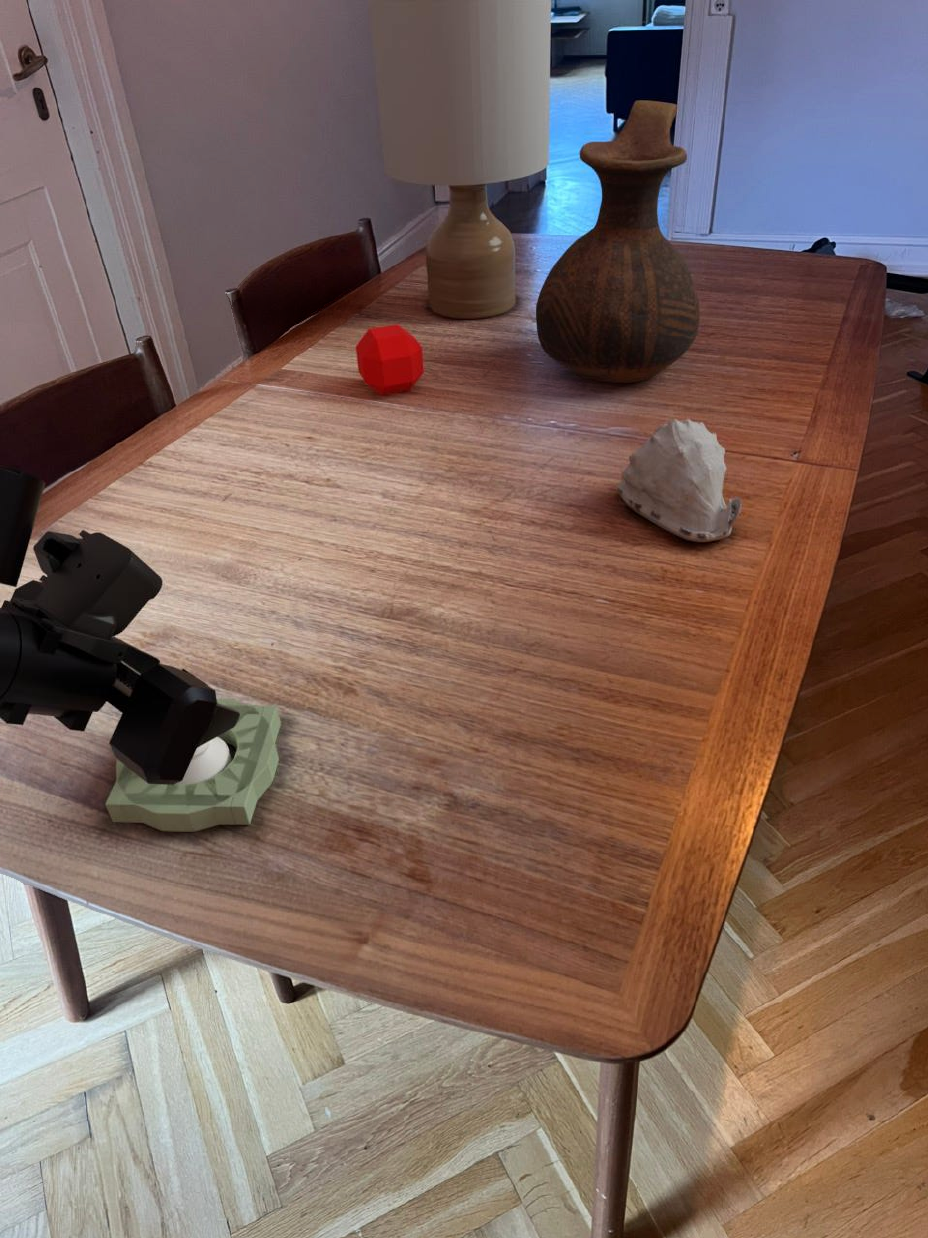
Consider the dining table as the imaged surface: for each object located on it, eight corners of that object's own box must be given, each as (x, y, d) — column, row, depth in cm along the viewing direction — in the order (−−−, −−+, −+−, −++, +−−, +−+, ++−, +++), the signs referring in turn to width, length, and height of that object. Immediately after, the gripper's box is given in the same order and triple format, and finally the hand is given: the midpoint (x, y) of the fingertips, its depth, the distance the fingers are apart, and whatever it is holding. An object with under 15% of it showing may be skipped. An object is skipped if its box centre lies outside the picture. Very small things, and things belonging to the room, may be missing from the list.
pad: (99, 830, 63) (91, 812, 61) (153, 715, 71) (147, 697, 70) (257, 833, 62) (251, 815, 60) (292, 717, 71) (287, 699, 69)
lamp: (385, 290, 150) (355, -15, 123) (521, 272, 153) (520, -26, 127) (413, 341, 131) (385, -4, 105) (567, 320, 135) (577, -18, 109)
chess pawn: (201, 739, 69) (172, 652, 63) (247, 764, 67) (221, 676, 61) (151, 781, 66) (116, 693, 60) (197, 809, 64) (165, 720, 58)
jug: (729, 375, 117) (768, 118, 98) (590, 413, 110) (603, 144, 91) (634, 324, 132) (651, 94, 114) (507, 354, 126) (504, 115, 107)
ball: (413, 370, 123) (408, 316, 118) (429, 393, 117) (425, 337, 112) (357, 380, 121) (350, 325, 116) (370, 404, 115) (364, 347, 110)
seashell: (711, 557, 85) (726, 465, 79) (598, 506, 93) (603, 418, 87) (779, 507, 91) (798, 418, 85) (668, 463, 99) (677, 379, 93)
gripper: (144, 585, 45) (332, 639, 58) (-34, 478, 54) (163, 545, 68) (55, 784, 45) (262, 792, 58) (-106, 643, 55) (104, 678, 68)
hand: (195, 691), depth 63 cm, fingers open, 9 cm apart
